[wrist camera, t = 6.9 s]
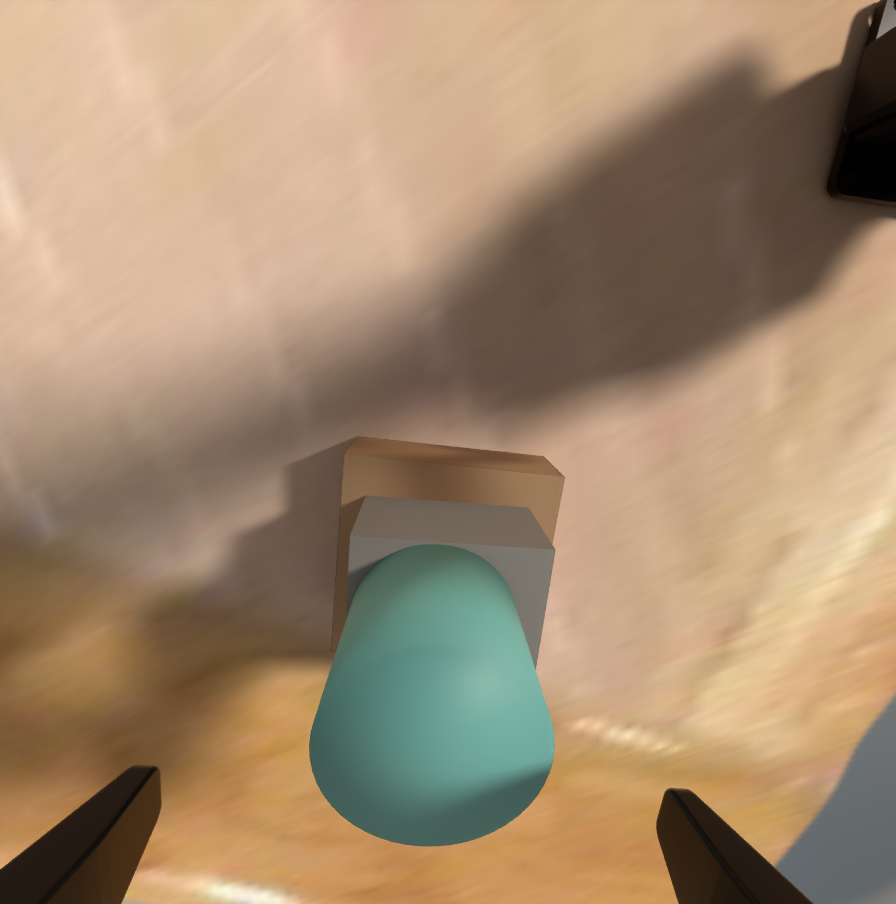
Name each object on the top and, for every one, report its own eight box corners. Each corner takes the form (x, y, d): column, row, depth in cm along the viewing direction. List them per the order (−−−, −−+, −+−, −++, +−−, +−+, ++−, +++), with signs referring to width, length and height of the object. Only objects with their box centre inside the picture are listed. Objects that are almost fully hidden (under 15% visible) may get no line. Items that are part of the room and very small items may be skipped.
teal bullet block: (527, 551, 13) (574, 655, 9) (504, 696, 14) (534, 851, 10) (355, 536, 13) (313, 636, 8) (345, 685, 14) (305, 840, 10)
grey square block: (528, 507, 17) (555, 549, 13) (508, 647, 18) (527, 718, 15) (365, 495, 16) (350, 536, 13) (357, 640, 18) (341, 710, 14)
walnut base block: (540, 453, 20) (565, 477, 16) (513, 613, 22) (529, 664, 18) (358, 434, 19) (344, 454, 16) (346, 600, 21) (330, 650, 18)
